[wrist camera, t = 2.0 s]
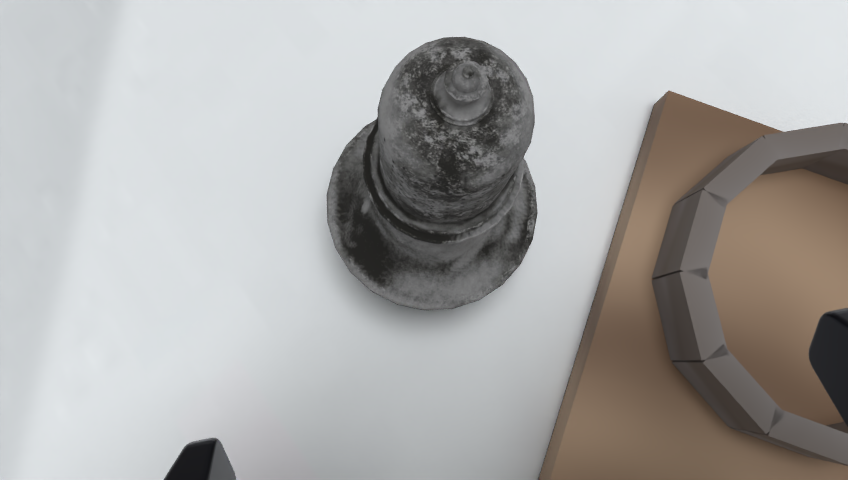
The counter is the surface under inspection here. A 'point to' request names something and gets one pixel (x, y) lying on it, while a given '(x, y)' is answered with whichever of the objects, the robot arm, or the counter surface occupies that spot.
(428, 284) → the salt shaker
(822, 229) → the board
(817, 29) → the counter surface
